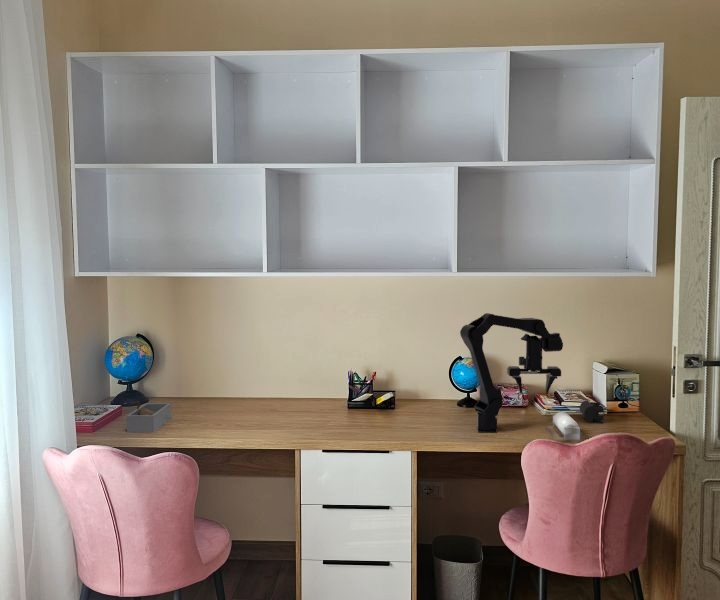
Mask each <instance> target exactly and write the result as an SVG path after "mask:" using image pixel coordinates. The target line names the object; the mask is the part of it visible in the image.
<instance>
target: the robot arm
mask: <svg viewBox="0 0 720 600" xmlns="http://www.w3.org/2000/svg"><path fill="white" fill-rule="evenodd" d="M492 326H497V327H505V328H510V329H516V330H517V329H518V330H519V331H522V332H526V333H525V334H523V336H522V337H521V338H520V341H524V342H526V344H525V346H526V349H525V350H526V351H525V356H518V366H517V365H516V366H515V365H514V366H513V365H512V366H508V367H507V368H506V370H507V371H506V374H507V375H508V377H511V378H512V379H514V380H515V383H516V385H517V388H518V392H519V394H520V395H523V385H522V384H523V382H522V376H521V374H522V375H523V374H524V375H527V374H528V375H530V374H531V375H534V374H535V375H537V374H539V375H541V374H542V375H543V374H544V375H545V376H546V381H545V389H544V391H545V393H544V394H545V395H546V396H547V395H548V394H549V390H550V389H551V387H552V384H553V383H554V381H555V379H556V380H557V379H558V378H559V377H562V370H561V368H559V366H552V365H551V366H550V365H549V366H548V365H547V368H543V352H545V353H549V352H552V353H553V352H561V351H562V350H563V347H564V342H563V339H562V337H561V334H560V332H553V333H550V331H548V329H547V327H546V324H545V322H544V320H543V319H540V318H535V317H520V318H516V317H515V318H514V317H509V316H503V315H497V314H494V313H490V312H489V313H488V312H486V313H484V314H483V315H481V316H480V317H478V318H477V319H475V320H472V321H471V322H470V323H469V324H465V325H463V326H462V327H461V329H460V332H459V333H460V338H461V339H462V341H463V343H464V345H465V346H466V348H467V349H468V350H469V353H470V356H471V359H472V362H473V363H472V364H473V366H474V370H475V372H476V376H477V380H478V382H479V383H478V384H479V387H480V388H479V400H478V401H477V402H476V403H475V405H474V406H473V407H474V411H475V412H476V430H477V432H478V433H497V430H498V418H497V416H498V415H499V412H500V409H501V408H502V406H503V404H504V403H503V400H504V399H505V398H504V397H503V395H502V390H501V388H500V387H498V386H495V385H494V383H493V379H492V376H491V372H490V369H489V366H488V362H487V359H486V356H485V353H484V352H485V351H484V346H483V345H484V335H486V333H488V332H489V330H490V329H492V328H491V327H492ZM530 334H532V335H530ZM519 366H522V367H523V368H520V367H519Z"/></svg>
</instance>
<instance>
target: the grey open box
mask: <svg viewBox="0 0 720 600" xmlns="http://www.w3.org/2000/svg"><path fill="white" fill-rule="evenodd" d="M133 404H136V405H137V408H136V409H139V407H141V406H140V405H141V401H139V400H136V401H133V402H131V403H130V404H129V405H128V408H130V406H131V405H133ZM154 413H155V412H153V411H151V410H149V409H145V408H143V409H140V410H139V413H138V414H139V415H153V414H154ZM162 424H163V426H164V425H165V424H164V423H162Z"/></svg>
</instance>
